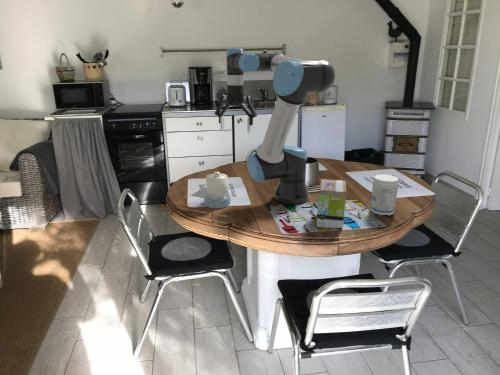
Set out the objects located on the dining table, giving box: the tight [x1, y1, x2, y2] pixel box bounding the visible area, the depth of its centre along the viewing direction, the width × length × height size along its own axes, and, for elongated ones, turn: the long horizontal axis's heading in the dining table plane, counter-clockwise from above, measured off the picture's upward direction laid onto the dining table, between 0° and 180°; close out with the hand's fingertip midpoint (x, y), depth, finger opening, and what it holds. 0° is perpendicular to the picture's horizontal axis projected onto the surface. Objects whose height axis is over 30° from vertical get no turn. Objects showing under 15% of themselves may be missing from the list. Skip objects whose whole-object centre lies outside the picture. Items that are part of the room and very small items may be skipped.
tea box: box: [316, 178, 347, 230], centre depth 158 cm, size 15×10×15 cm, turn 168°
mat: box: [190, 187, 206, 199], centre depth 189 cm, size 12×12×1 cm
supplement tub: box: [369, 174, 399, 216], centre depth 167 cm, size 10×10×15 cm
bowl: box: [203, 194, 231, 209], centre depth 176 cm, size 11×11×4 cm
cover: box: [205, 171, 229, 200], centre depth 174 cm, size 9×9×11 cm
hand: (235, 131), depth 194 cm, fingers open, 13 cm apart
